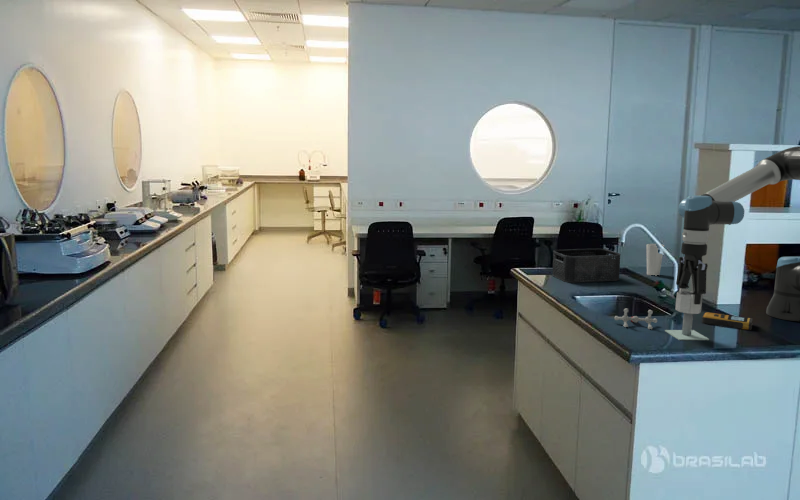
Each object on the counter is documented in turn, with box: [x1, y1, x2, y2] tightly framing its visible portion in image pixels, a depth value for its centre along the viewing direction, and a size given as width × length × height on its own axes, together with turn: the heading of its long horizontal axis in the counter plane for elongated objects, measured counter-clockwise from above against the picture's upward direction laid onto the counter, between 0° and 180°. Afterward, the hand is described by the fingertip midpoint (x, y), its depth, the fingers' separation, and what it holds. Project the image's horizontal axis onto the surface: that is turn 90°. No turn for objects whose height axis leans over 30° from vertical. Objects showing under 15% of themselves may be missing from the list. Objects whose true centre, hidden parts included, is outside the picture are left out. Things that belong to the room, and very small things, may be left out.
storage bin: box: [552, 247, 621, 284], centre depth 288 cm, size 29×19×13 cm
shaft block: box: [664, 313, 710, 341], centre depth 196 cm, size 10×10×8 cm
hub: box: [675, 290, 704, 314], centre depth 195 cm, size 7×7×6 cm
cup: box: [646, 243, 665, 277], centre depth 297 cm, size 8×8×16 cm
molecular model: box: [614, 308, 658, 330], centre depth 209 cm, size 14×8×10 cm
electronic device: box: [701, 312, 754, 331], centre depth 211 cm, size 8×16×3 cm, turn 57°
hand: (688, 310), depth 195 cm, fingers closed on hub, 7 cm apart
